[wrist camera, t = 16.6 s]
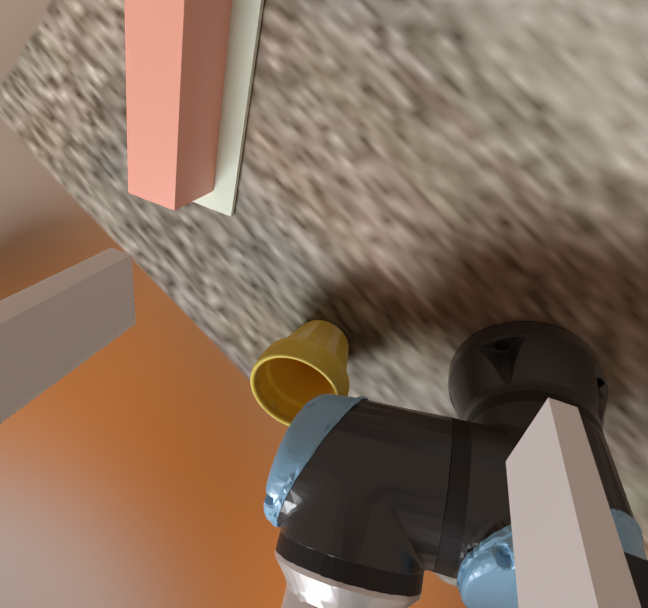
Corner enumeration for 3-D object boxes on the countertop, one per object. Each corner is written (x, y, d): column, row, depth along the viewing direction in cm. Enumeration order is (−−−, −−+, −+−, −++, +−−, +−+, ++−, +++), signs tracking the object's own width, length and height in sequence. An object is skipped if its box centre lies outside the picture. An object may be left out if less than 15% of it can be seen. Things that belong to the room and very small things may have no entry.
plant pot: (292, 373, 55) (261, 426, 47) (275, 305, 50) (238, 352, 42) (368, 378, 52) (348, 437, 44) (357, 306, 47) (333, 357, 39)
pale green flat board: (233, 214, 46) (230, 216, 46) (155, 184, 47) (151, 185, 47) (273, -63, 33) (270, -65, 32) (162, -96, 34) (157, -98, 33)
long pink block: (212, 191, 45) (174, 210, 39) (172, 175, 45) (128, 192, 39) (236, -43, 34) (187, -64, 28) (182, -59, 34) (122, -83, 28)
